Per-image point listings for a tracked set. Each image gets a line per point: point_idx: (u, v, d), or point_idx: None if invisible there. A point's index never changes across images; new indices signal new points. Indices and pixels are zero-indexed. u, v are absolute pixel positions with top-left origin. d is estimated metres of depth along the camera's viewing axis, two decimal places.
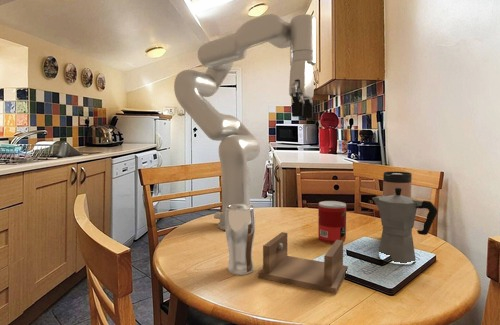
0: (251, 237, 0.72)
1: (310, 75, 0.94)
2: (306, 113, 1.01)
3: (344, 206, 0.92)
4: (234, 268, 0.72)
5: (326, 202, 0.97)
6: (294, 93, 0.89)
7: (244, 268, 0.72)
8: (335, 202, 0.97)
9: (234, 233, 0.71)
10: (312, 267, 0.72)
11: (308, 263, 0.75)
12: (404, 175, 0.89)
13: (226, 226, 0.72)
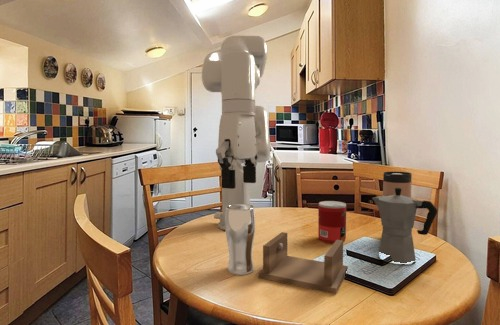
0: (251, 237, 0.72)
1: (247, 131, 0.70)
2: (247, 177, 0.76)
3: (344, 206, 0.92)
4: (234, 268, 0.72)
5: (326, 202, 0.97)
6: (221, 159, 0.65)
7: (244, 268, 0.72)
8: (335, 202, 0.97)
9: (234, 233, 0.71)
10: (312, 267, 0.72)
11: (308, 263, 0.75)
12: (404, 175, 0.89)
13: (226, 226, 0.72)
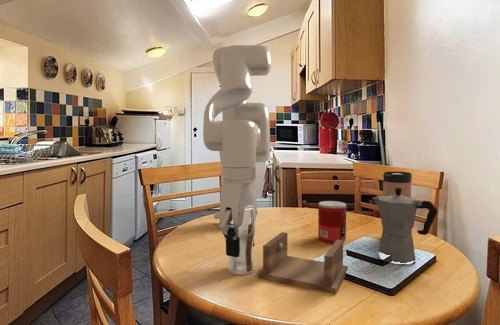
0: (251, 237, 0.72)
1: (248, 197, 0.72)
2: None
3: (344, 206, 0.92)
4: (234, 268, 0.72)
5: (326, 202, 0.97)
6: (225, 232, 0.68)
7: (244, 268, 0.72)
8: (335, 202, 0.97)
9: None
10: (312, 267, 0.72)
11: (308, 263, 0.75)
12: (404, 175, 0.89)
13: None
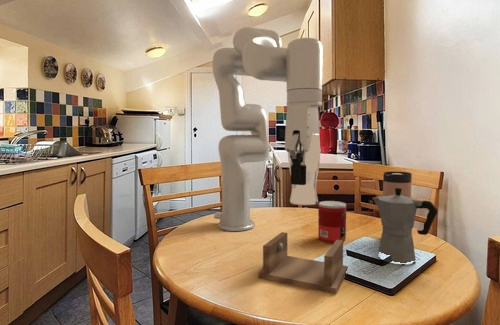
0: (317, 165, 0.68)
1: (314, 122, 0.67)
2: None
3: (344, 206, 0.92)
4: (299, 198, 0.68)
5: (326, 202, 0.97)
6: (294, 155, 0.64)
7: (310, 198, 0.68)
8: (335, 202, 0.97)
9: None
10: (312, 267, 0.72)
11: (308, 263, 0.75)
12: (404, 175, 0.89)
13: None
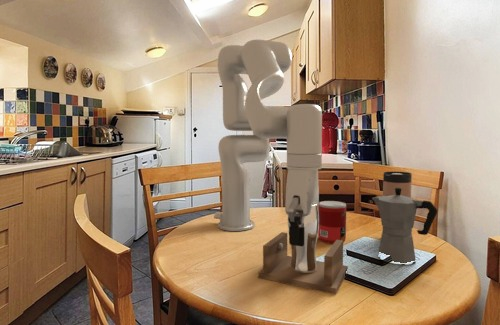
0: (316, 234, 0.69)
1: (314, 185, 0.68)
2: None
3: (344, 206, 0.92)
4: (299, 266, 0.69)
5: (326, 202, 0.97)
6: (292, 219, 0.64)
7: (309, 266, 0.69)
8: (335, 202, 0.97)
9: None
10: None
11: None
12: (404, 175, 0.89)
13: None
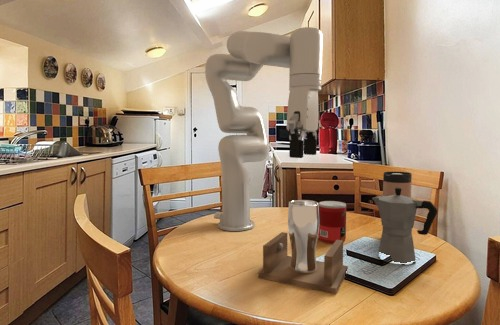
0: (316, 234, 0.69)
1: (314, 104, 0.74)
2: (308, 149, 0.81)
3: (344, 206, 0.92)
4: (299, 266, 0.69)
5: (326, 202, 0.97)
6: (292, 130, 0.70)
7: (309, 266, 0.69)
8: (335, 202, 0.97)
9: (300, 230, 0.68)
10: None
11: None
12: (404, 175, 0.89)
13: (290, 223, 0.70)
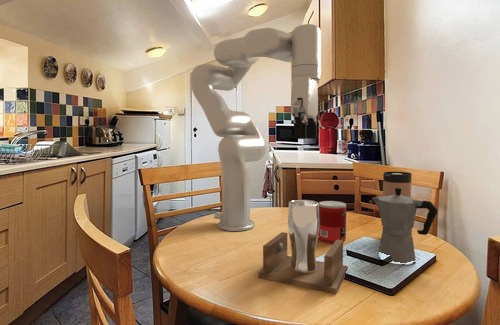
0: (316, 234, 0.69)
1: (314, 92, 0.84)
2: (309, 133, 0.90)
3: (344, 206, 0.92)
4: (299, 266, 0.69)
5: (326, 202, 0.97)
6: (296, 113, 0.79)
7: (309, 266, 0.69)
8: (335, 202, 0.97)
9: (300, 230, 0.68)
10: None
11: None
12: (404, 175, 0.89)
13: (290, 223, 0.70)
